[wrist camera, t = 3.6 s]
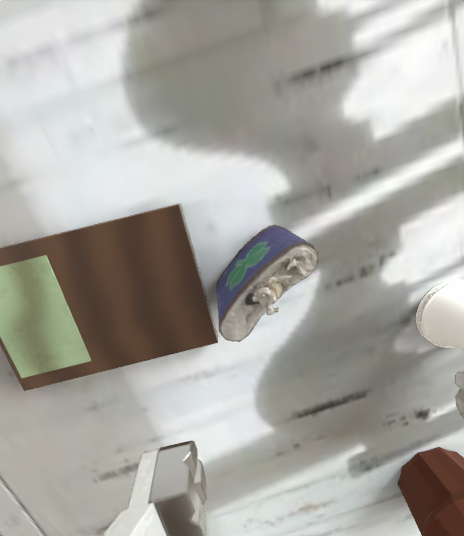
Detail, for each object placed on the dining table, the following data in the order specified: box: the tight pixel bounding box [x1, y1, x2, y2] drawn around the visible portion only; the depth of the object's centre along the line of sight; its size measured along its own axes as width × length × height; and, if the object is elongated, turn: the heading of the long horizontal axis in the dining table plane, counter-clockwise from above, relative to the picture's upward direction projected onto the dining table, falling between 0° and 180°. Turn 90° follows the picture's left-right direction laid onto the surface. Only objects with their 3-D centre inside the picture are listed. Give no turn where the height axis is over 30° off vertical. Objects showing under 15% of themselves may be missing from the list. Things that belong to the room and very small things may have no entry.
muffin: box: [398, 447, 464, 536], centre depth 33 cm, size 12×11×10 cm
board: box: [0, 204, 218, 391], centre depth 28 cm, size 20×14×2 cm
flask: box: [216, 225, 318, 342], centre depth 24 cm, size 9×3×11 cm, turn 137°
